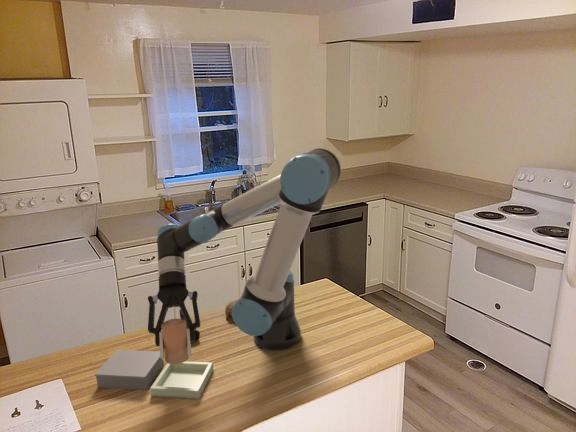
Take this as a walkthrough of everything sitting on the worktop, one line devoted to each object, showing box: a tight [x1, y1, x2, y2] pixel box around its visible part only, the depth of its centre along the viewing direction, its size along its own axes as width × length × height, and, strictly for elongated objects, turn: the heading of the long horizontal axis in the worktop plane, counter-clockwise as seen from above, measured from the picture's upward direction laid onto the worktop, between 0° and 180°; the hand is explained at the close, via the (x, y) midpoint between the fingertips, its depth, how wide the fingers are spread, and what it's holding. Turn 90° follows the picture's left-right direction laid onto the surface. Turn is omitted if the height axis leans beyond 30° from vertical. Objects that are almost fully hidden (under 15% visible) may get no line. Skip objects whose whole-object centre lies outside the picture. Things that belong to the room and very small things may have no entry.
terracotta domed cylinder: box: [161, 318, 190, 364], centre depth 123 cm, size 6×6×10 cm
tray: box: [149, 360, 214, 400], centre depth 126 cm, size 13×13×2 cm
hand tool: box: [179, 309, 201, 343], centre depth 155 cm, size 19×4×5 cm, turn 22°
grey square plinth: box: [94, 349, 165, 391], centre depth 130 cm, size 14×12×4 cm
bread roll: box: [224, 298, 240, 322], centre depth 163 cm, size 10×10×8 cm
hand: (176, 355), depth 121 cm, fingers closed on terracotta domed cylinder, 6 cm apart
